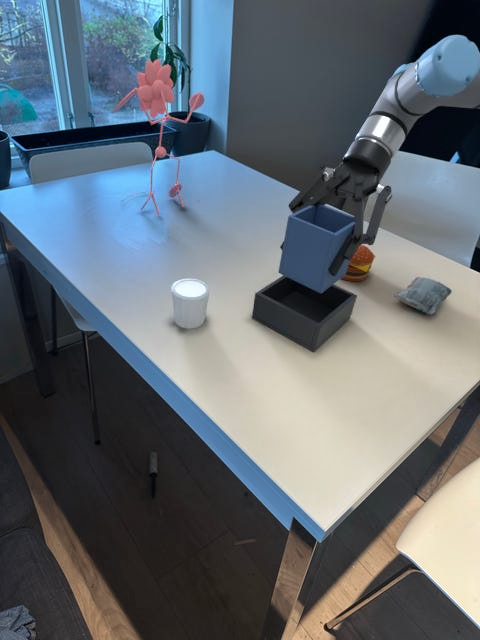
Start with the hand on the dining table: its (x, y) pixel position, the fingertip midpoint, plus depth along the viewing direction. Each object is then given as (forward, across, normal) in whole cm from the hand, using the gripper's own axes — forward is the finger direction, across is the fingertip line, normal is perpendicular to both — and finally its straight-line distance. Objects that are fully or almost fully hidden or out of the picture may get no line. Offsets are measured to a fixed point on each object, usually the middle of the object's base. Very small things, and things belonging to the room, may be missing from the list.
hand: (307, 261), depth 77 cm
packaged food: (-9, -15, -30) cm, 34 cm away
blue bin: (0, 0, -5) cm, 5 cm away
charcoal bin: (+8, 0, -12) cm, 15 cm away
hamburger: (-9, +2, -30) cm, 31 cm away
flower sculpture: (-3, +58, -23) cm, 63 cm away
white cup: (+19, +15, -1) cm, 24 cm away
